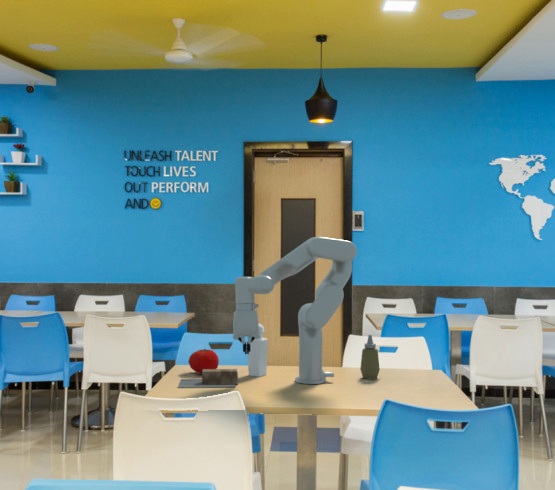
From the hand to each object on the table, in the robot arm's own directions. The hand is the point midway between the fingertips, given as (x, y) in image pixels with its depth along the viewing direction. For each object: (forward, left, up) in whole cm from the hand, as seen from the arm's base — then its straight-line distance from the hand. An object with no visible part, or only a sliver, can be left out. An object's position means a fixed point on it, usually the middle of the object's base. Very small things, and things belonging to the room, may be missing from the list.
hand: (246, 353), depth 233 cm
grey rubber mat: (+15, 0, -12) cm, 19 cm away
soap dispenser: (-5, -17, -12) cm, 21 cm away
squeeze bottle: (-52, -9, -12) cm, 54 cm away
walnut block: (+3, 0, -9) cm, 10 cm away
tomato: (+18, -22, -12) cm, 31 cm away
